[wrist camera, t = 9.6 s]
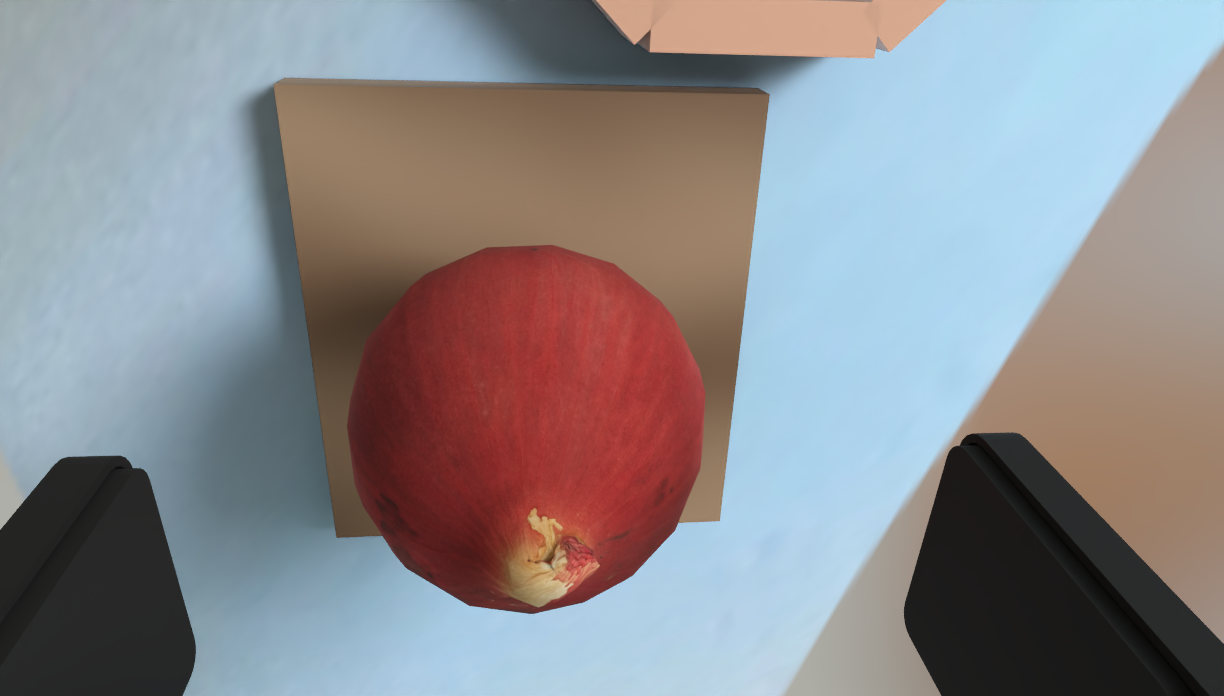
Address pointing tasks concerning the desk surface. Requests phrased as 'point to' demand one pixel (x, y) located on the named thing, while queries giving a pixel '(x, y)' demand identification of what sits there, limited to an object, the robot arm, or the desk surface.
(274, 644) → the desk surface
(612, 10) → the ring holder
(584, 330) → the onion
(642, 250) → the board
